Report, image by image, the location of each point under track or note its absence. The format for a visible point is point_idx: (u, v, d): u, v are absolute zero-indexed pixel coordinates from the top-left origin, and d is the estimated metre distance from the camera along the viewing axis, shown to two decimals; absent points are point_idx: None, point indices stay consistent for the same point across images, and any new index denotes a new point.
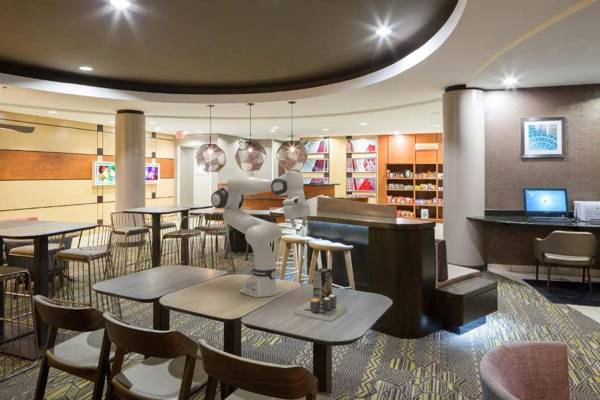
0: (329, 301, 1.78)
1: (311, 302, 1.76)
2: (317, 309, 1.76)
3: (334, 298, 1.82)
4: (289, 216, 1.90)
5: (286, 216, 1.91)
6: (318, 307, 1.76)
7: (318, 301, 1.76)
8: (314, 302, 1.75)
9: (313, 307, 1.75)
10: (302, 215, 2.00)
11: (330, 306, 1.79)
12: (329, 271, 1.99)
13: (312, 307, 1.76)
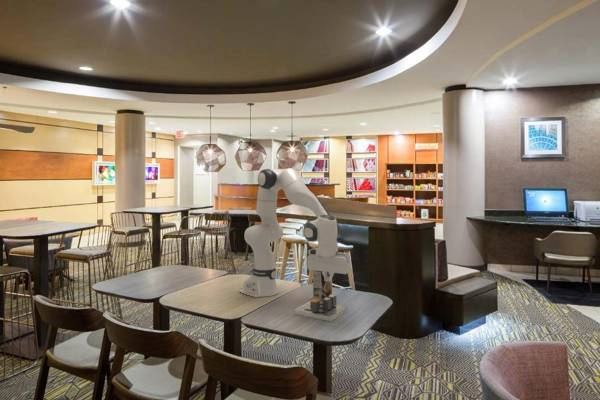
0: (329, 301, 1.78)
1: (311, 302, 1.76)
2: (317, 309, 1.76)
3: (334, 298, 1.82)
4: None
5: None
6: (318, 307, 1.76)
7: (318, 301, 1.76)
8: (314, 302, 1.75)
9: (313, 307, 1.75)
10: (328, 270, 1.70)
11: (330, 306, 1.79)
12: None
13: (312, 307, 1.76)
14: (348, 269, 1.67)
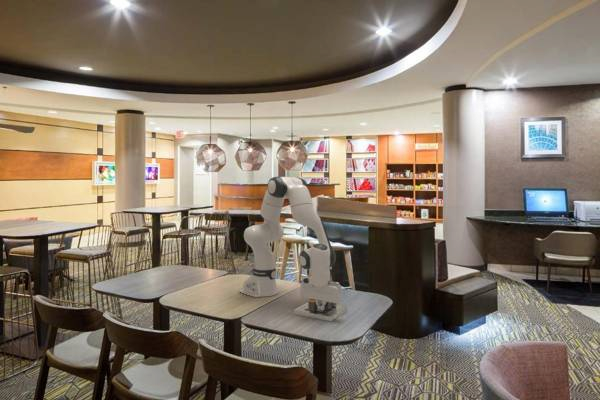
0: None
1: (309, 302, 1.76)
2: (315, 309, 1.76)
3: None
4: None
5: None
6: (316, 307, 1.77)
7: None
8: (312, 302, 1.75)
9: (311, 306, 1.76)
10: (321, 299, 1.73)
11: (330, 306, 1.79)
12: None
13: (310, 307, 1.76)
14: (340, 298, 1.70)
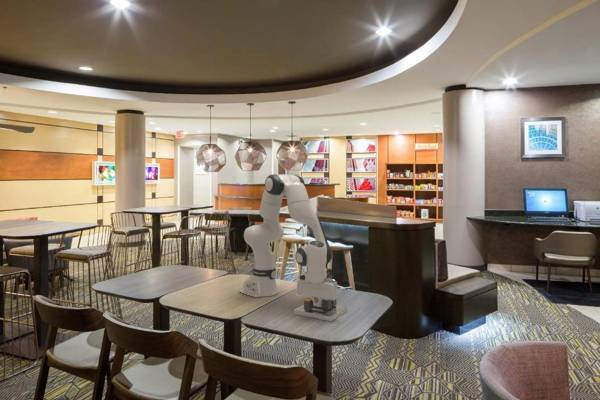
0: (329, 301, 1.78)
1: (304, 301, 1.78)
2: (310, 308, 1.77)
3: None
4: None
5: None
6: (311, 306, 1.78)
7: (311, 300, 1.78)
8: (307, 301, 1.77)
9: (307, 305, 1.77)
10: (317, 295, 1.74)
11: (330, 306, 1.79)
12: (329, 271, 1.99)
13: (305, 306, 1.77)
14: (336, 295, 1.71)
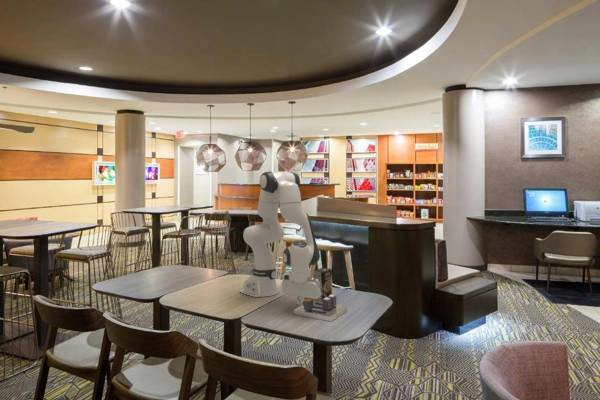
0: (329, 301, 1.78)
1: (304, 301, 1.78)
2: (310, 308, 1.77)
3: (334, 298, 1.82)
4: None
5: None
6: (311, 306, 1.78)
7: (311, 300, 1.78)
8: (307, 301, 1.77)
9: (307, 305, 1.77)
10: (301, 295, 1.78)
11: (330, 306, 1.79)
12: (329, 271, 1.99)
13: (305, 306, 1.77)
14: (319, 294, 1.75)
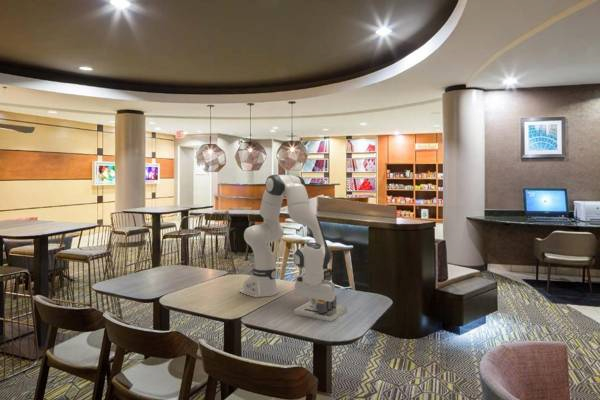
0: None
1: (318, 303, 1.74)
2: (324, 310, 1.74)
3: None
4: None
5: None
6: (325, 308, 1.74)
7: (325, 302, 1.74)
8: (321, 303, 1.73)
9: (320, 308, 1.73)
10: (315, 297, 1.74)
11: (330, 306, 1.79)
12: (329, 271, 1.99)
13: (319, 308, 1.74)
14: (334, 297, 1.71)
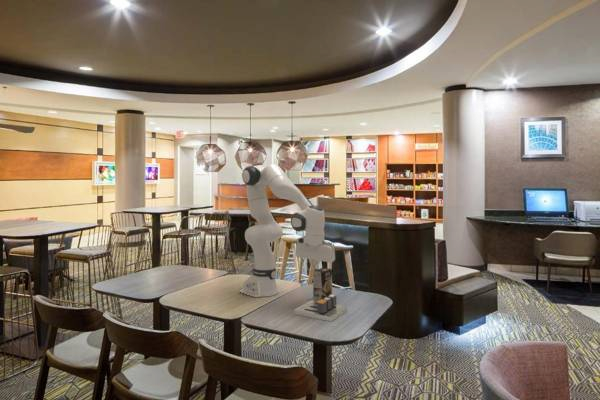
0: (329, 301, 1.78)
1: (318, 303, 1.74)
2: (324, 310, 1.74)
3: (334, 298, 1.82)
4: None
5: None
6: (325, 308, 1.74)
7: (325, 302, 1.74)
8: (321, 303, 1.73)
9: (320, 308, 1.73)
10: (315, 258, 1.79)
11: (330, 306, 1.79)
12: (329, 271, 1.99)
13: (319, 308, 1.74)
14: (333, 258, 1.76)
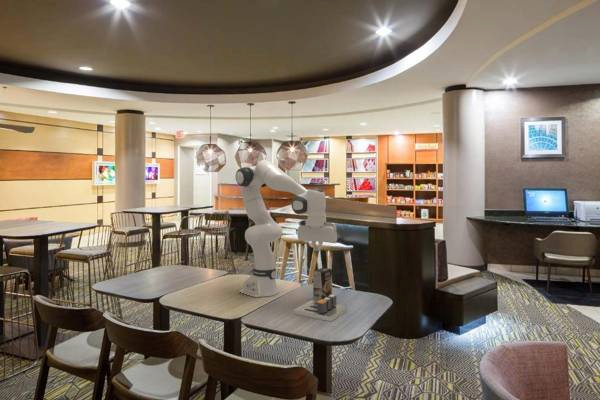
0: (329, 301, 1.78)
1: (318, 303, 1.74)
2: (324, 310, 1.74)
3: (334, 298, 1.82)
4: None
5: None
6: (325, 308, 1.74)
7: (325, 302, 1.74)
8: (321, 303, 1.73)
9: (320, 308, 1.73)
10: (317, 239, 1.80)
11: (330, 306, 1.79)
12: (329, 271, 1.99)
13: (319, 308, 1.74)
14: (336, 238, 1.77)
